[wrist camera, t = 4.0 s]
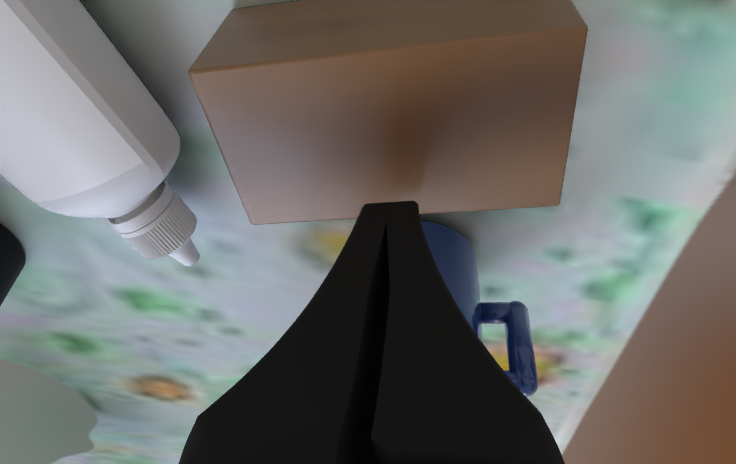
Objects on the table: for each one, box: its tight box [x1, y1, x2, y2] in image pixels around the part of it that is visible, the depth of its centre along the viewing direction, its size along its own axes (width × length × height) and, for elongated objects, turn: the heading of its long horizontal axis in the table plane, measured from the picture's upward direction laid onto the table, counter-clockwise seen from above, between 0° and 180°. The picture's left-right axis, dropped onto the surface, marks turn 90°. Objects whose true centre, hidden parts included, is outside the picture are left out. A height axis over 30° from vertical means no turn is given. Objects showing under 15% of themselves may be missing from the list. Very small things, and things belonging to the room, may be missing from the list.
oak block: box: [188, 0, 588, 225], centre depth 14 cm, size 5×9×4 cm, turn 98°
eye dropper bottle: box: [0, 0, 200, 266], centre depth 16 cm, size 4×6×12 cm
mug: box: [421, 221, 538, 397], centre depth 18 cm, size 9×7×10 cm
